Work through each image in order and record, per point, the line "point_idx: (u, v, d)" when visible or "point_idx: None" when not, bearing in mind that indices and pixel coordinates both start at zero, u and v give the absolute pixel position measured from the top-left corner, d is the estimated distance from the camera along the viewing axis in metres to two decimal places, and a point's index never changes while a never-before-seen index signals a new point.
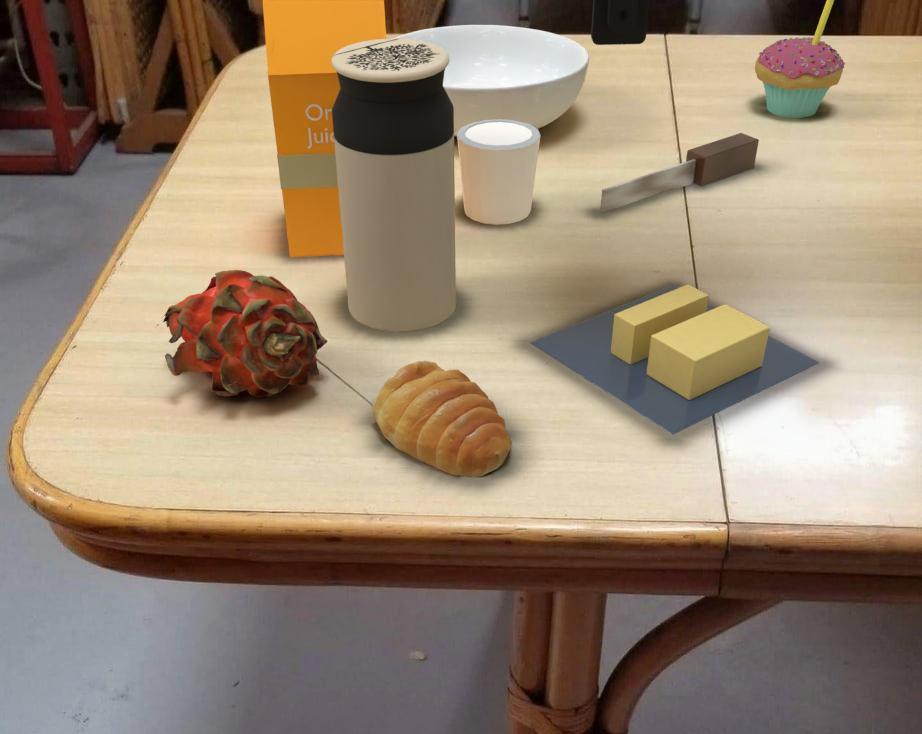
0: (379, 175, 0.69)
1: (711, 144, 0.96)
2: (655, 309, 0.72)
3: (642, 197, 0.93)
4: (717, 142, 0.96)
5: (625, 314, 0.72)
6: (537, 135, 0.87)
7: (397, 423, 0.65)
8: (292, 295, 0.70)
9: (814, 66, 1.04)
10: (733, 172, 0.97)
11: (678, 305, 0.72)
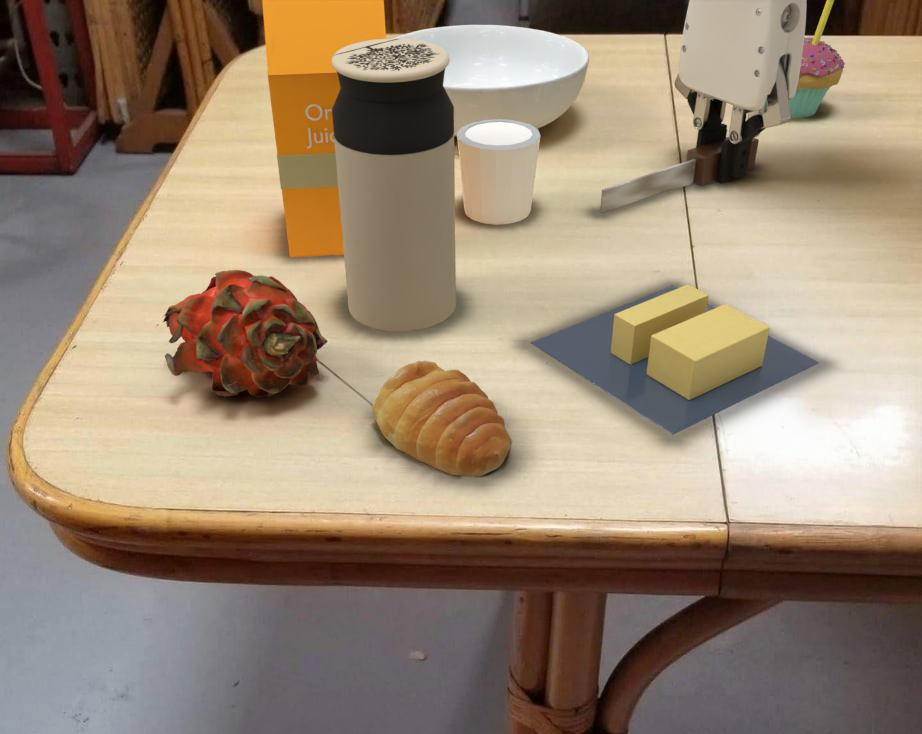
0: (379, 175, 0.69)
1: (711, 144, 0.96)
2: (655, 309, 0.72)
3: (642, 197, 0.93)
4: (717, 142, 0.96)
5: (625, 314, 0.72)
6: (537, 135, 0.87)
7: (397, 423, 0.65)
8: (292, 295, 0.70)
9: (814, 66, 1.04)
10: None
11: (678, 305, 0.72)
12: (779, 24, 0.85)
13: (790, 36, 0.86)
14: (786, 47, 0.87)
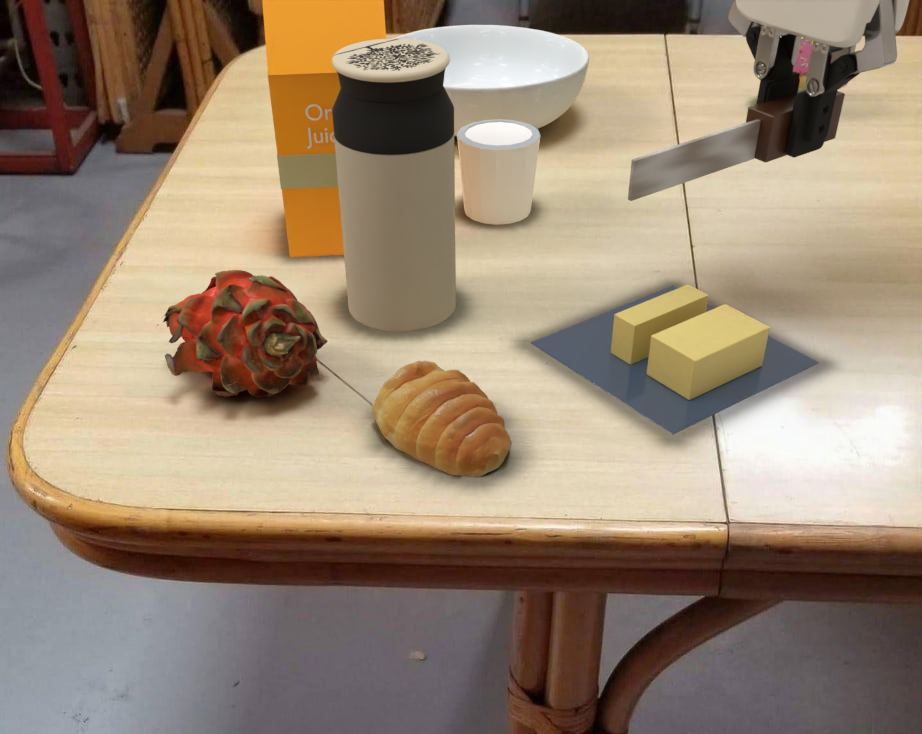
0: (379, 175, 0.69)
1: (780, 99, 0.70)
2: (655, 309, 0.72)
3: (687, 171, 0.67)
4: (788, 97, 0.70)
5: (625, 314, 0.72)
6: (537, 135, 0.87)
7: (397, 423, 0.65)
8: (292, 295, 0.70)
9: None
10: None
11: (678, 305, 0.72)
12: None
13: None
14: None
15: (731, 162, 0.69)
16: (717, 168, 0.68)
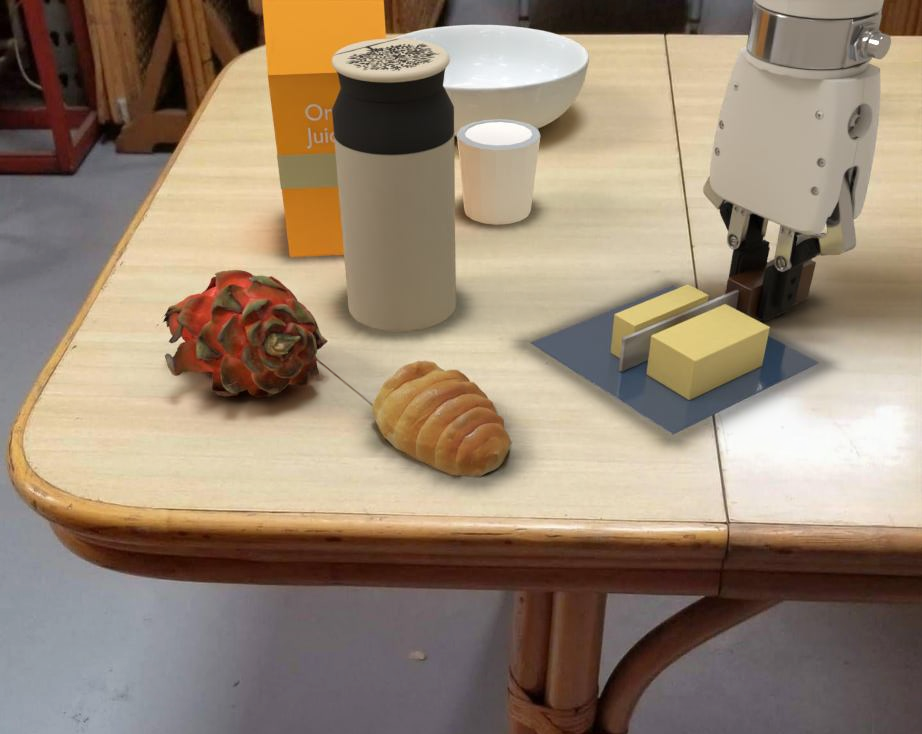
0: (379, 175, 0.69)
1: (757, 269, 0.76)
2: (655, 309, 0.72)
3: None
4: (764, 266, 0.77)
5: (625, 314, 0.72)
6: (537, 135, 0.87)
7: (396, 423, 0.65)
8: (292, 295, 0.70)
9: None
10: None
11: (678, 305, 0.72)
12: (846, 131, 0.65)
13: (859, 144, 0.66)
14: (853, 158, 0.66)
15: None
16: None
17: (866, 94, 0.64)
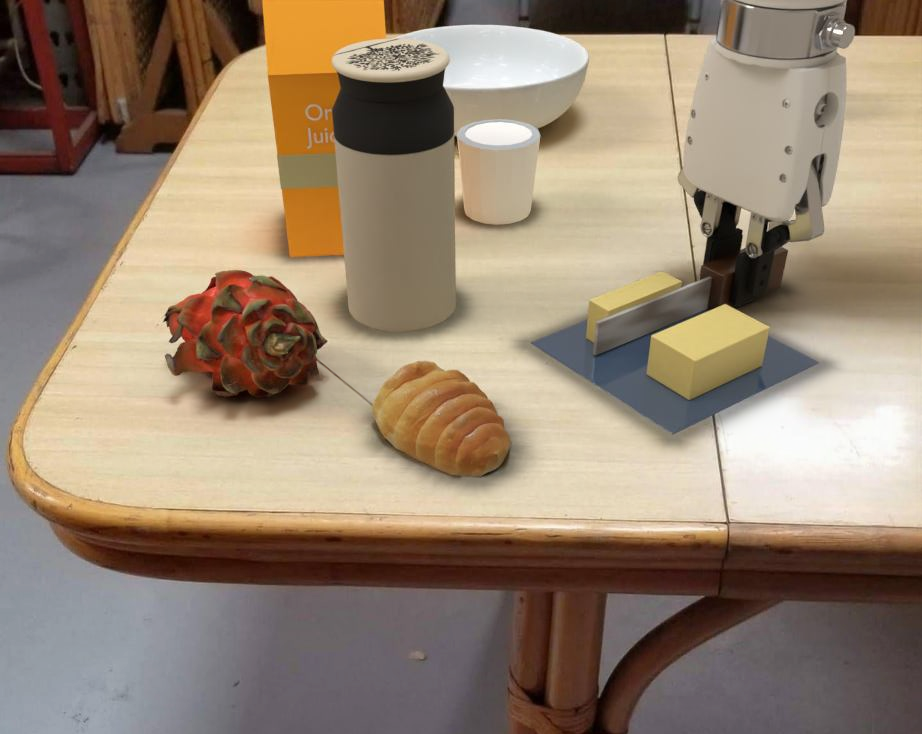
0: (379, 175, 0.69)
1: (730, 256, 0.78)
2: (629, 295, 0.74)
3: (646, 326, 0.75)
4: (737, 253, 0.78)
5: (599, 299, 0.73)
6: (537, 135, 0.87)
7: (396, 423, 0.65)
8: (292, 295, 0.70)
9: None
10: None
11: (651, 291, 0.74)
12: (812, 119, 0.67)
13: (825, 133, 0.68)
14: (820, 146, 0.68)
15: (686, 314, 0.77)
16: (673, 320, 0.76)
17: (832, 83, 0.66)
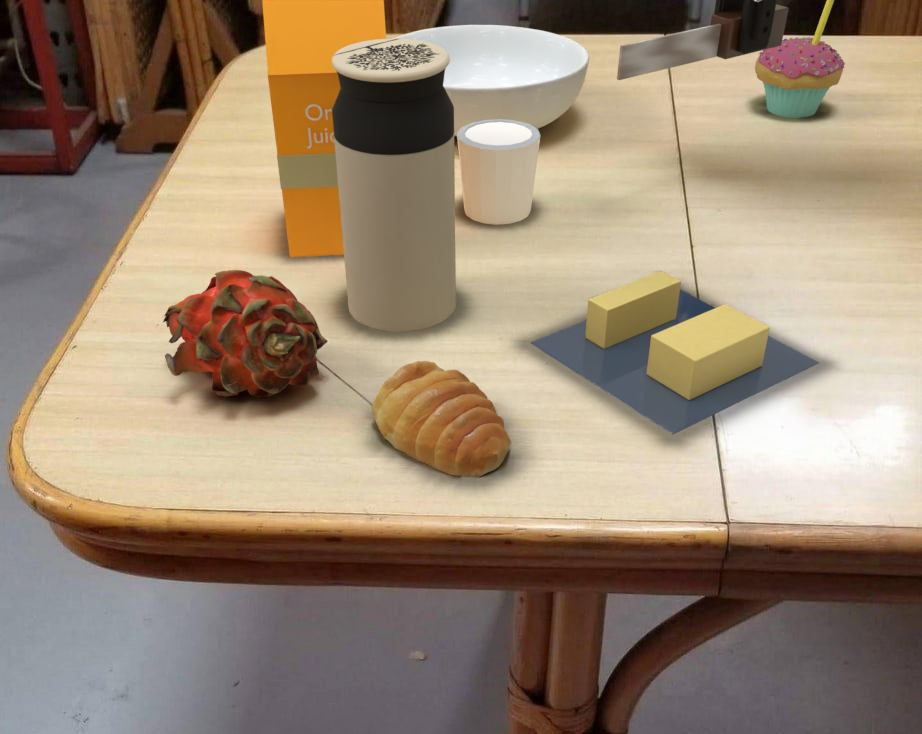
0: (379, 175, 0.69)
1: (737, 10, 0.88)
2: (628, 294, 0.74)
3: (663, 60, 0.85)
4: None
5: (598, 299, 0.73)
6: (537, 135, 0.87)
7: (396, 423, 0.65)
8: (292, 295, 0.70)
9: (814, 66, 1.04)
10: None
11: (650, 291, 0.74)
12: None
13: None
14: None
15: (698, 58, 0.87)
16: (687, 61, 0.86)
17: None
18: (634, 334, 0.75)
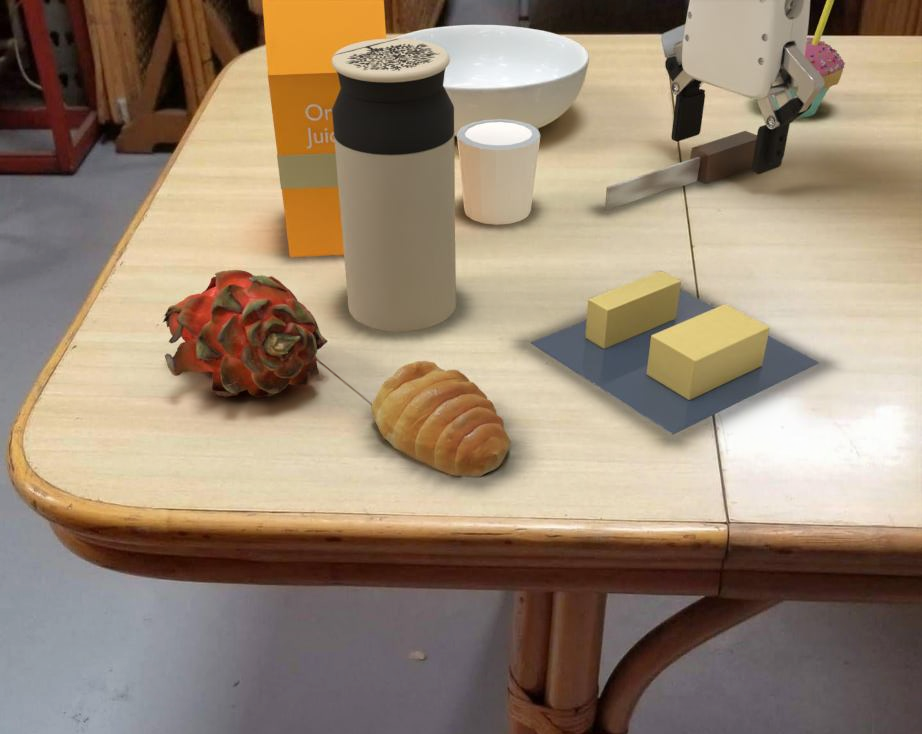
0: (379, 175, 0.69)
1: (715, 142, 0.96)
2: (628, 294, 0.74)
3: (647, 194, 0.93)
4: (721, 140, 0.97)
5: (598, 299, 0.73)
6: (537, 135, 0.87)
7: (396, 423, 0.65)
8: (292, 295, 0.70)
9: (814, 66, 1.04)
10: (737, 170, 0.97)
11: (650, 291, 0.74)
12: (783, 11, 0.84)
13: (794, 23, 0.86)
14: (790, 34, 0.86)
15: None
16: None
17: None
18: (634, 334, 0.75)
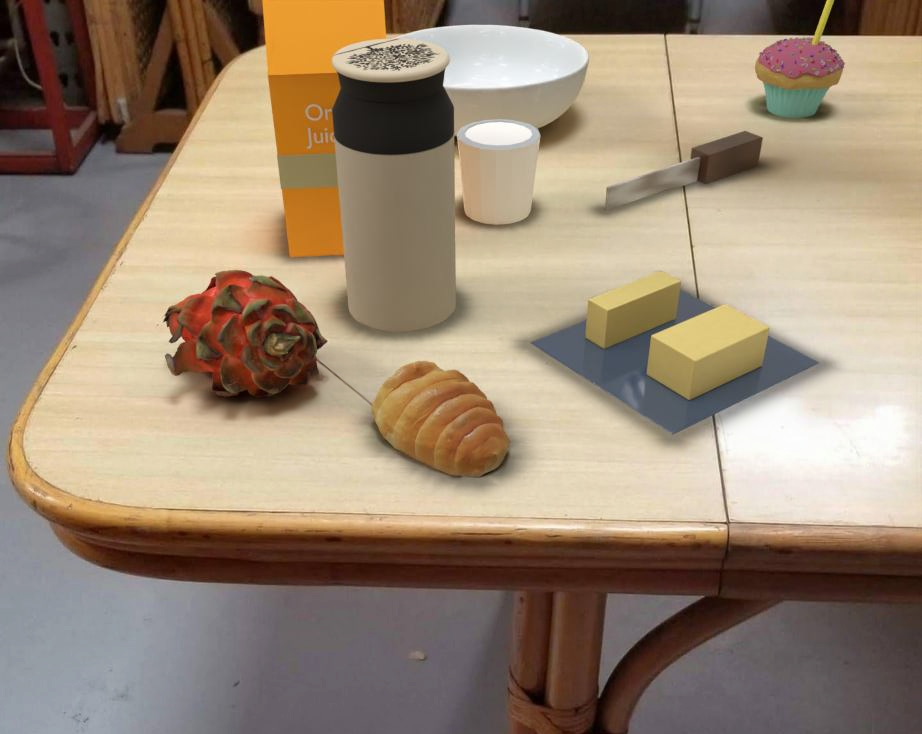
0: (379, 175, 0.69)
1: (715, 142, 0.96)
2: (628, 294, 0.74)
3: (647, 194, 0.93)
4: (721, 140, 0.97)
5: (598, 299, 0.73)
6: (537, 135, 0.87)
7: (396, 423, 0.65)
8: (292, 295, 0.70)
9: (814, 66, 1.04)
10: (737, 170, 0.97)
11: (650, 291, 0.74)
12: None
13: None
14: None
15: None
16: None
17: None
18: (634, 334, 0.75)
